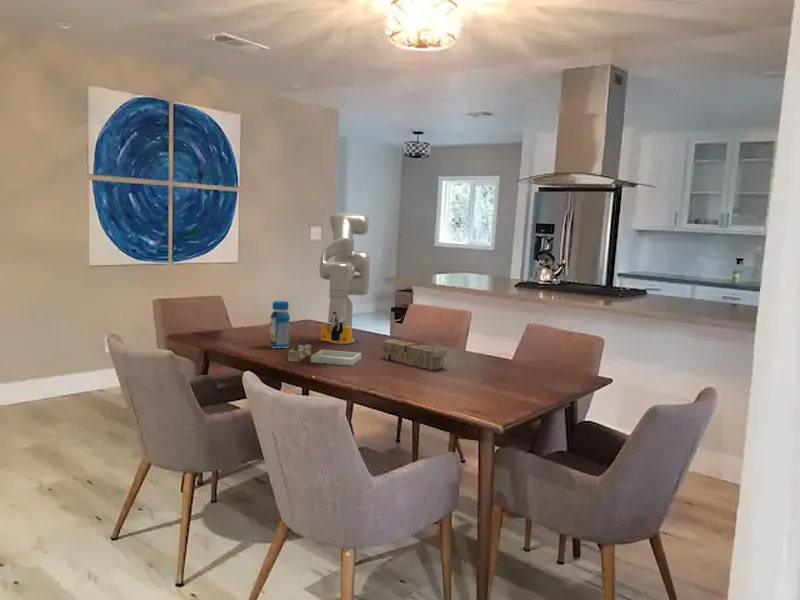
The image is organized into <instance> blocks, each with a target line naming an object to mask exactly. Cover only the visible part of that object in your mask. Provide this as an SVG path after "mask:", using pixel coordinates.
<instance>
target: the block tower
mask: <svg viewBox="0 0 800 600" xmlns="http://www.w3.org/2000/svg"><path fill="white" fill-rule="evenodd" d="M382 349H383V354H382V359H383V358H385V359H384V360H387V359H390V361H391V360H393V361H392V362H395V361H397V362H396V363H399V362H401V363H400V364H403V363H405V364H404V365H407V364H409V365H408V366H411V365H413V366H412V367H415V366H417V367H416V368H419V367H421V368H420V369H423V368H426V369H425V370H427V369H430V370H429V371H433V370H432V369H435V370H438V369H437V368H439V369H443V368H444V360H445V359H444V357H447V356H448V355H447V351H448V350H447V349H446V348H445V349H444V348H438V347H433V346H430V345H425V344H424V345H423V344H420V345H417V343H414V342H408V341H406V340H401V339H400V340H399V339H395V338H390V339H386V340H384V341H383V348H382ZM442 367H443V368H442Z"/></svg>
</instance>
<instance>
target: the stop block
mask: <svg viewBox="0 0 800 600" xmlns="http://www.w3.org/2000/svg"><path fill="white" fill-rule="evenodd" d="M311 353H312V344H310V343H309V344H308V339H307V338H306V337H303V338H301V344H300V343H299V342H297V341H296V342H295V341H294V342H293V348H291V349H290V350H288V360H287V361H288V362H295V361H297V362H300V361H302V360H304V359H305V358H306V356H307V357H308V356H310V355H311ZM301 359H302V360H301Z"/></svg>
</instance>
